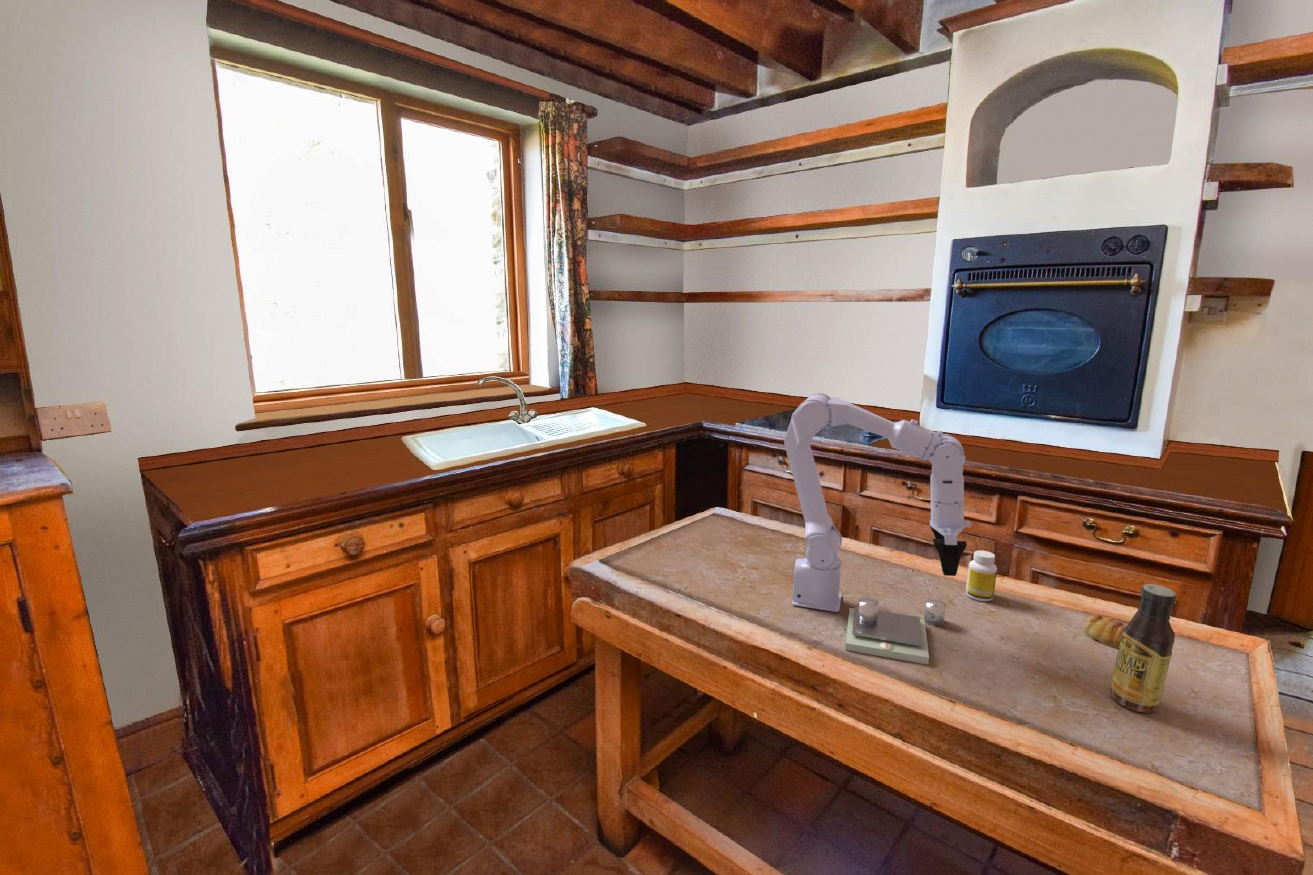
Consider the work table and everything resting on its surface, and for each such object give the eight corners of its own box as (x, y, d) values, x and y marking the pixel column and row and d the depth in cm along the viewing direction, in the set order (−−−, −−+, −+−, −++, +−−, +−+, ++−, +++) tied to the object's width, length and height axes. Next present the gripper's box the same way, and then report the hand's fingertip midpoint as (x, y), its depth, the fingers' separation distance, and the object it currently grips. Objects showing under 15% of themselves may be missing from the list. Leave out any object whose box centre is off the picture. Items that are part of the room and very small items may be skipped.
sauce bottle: (1099, 691, 100) (1119, 579, 96) (1135, 689, 101) (1156, 577, 96) (1133, 718, 94) (1155, 598, 89) (1171, 715, 94) (1195, 597, 90)
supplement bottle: (997, 603, 129) (1002, 560, 127) (969, 600, 130) (974, 557, 128) (988, 591, 135) (994, 549, 132) (962, 589, 136) (966, 547, 134)
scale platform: (851, 639, 114) (852, 631, 114) (854, 613, 123) (854, 606, 123) (921, 651, 110) (922, 643, 110) (919, 624, 119) (919, 616, 119)
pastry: (1153, 648, 113) (1156, 629, 112) (1136, 660, 109) (1140, 640, 108) (1096, 626, 121) (1099, 608, 120) (1079, 636, 117) (1081, 618, 116)
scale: (845, 649, 112) (845, 641, 112) (849, 613, 125) (849, 606, 125) (928, 664, 108) (929, 656, 107) (923, 625, 121) (924, 617, 120)
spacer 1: (857, 623, 116) (858, 604, 116) (857, 615, 120) (859, 596, 119) (877, 627, 115) (878, 607, 114) (877, 618, 119) (878, 599, 118)
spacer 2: (924, 624, 121) (926, 606, 120) (923, 615, 124) (925, 597, 124) (944, 627, 120) (946, 609, 119) (942, 618, 123) (944, 600, 122)
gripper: (975, 512, 109) (975, 583, 111) (965, 489, 122) (966, 553, 124) (932, 511, 111) (933, 581, 114) (927, 489, 124) (928, 552, 127)
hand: (947, 566), depth 119 cm, fingers open, 7 cm apart
